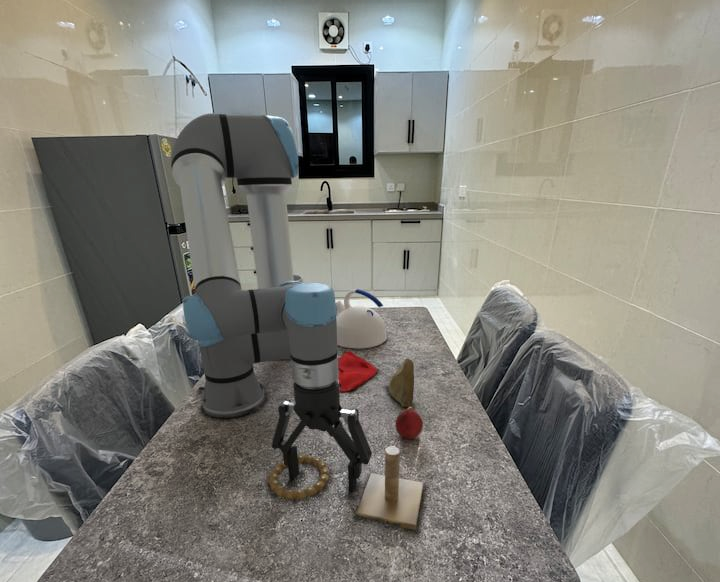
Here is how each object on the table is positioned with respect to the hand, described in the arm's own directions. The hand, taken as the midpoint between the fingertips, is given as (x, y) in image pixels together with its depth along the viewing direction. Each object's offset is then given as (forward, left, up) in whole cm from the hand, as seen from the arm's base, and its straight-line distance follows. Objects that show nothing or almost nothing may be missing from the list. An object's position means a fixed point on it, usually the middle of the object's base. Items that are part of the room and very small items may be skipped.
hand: (323, 483), depth 72 cm
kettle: (-14, +73, 0) cm, 74 cm away
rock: (+8, +35, 0) cm, 36 cm away
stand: (+13, -1, 0) cm, 13 cm away
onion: (+13, +18, 0) cm, 22 cm away
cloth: (-8, +47, 0) cm, 48 cm away
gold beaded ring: (-5, 0, +1) cm, 5 cm away
